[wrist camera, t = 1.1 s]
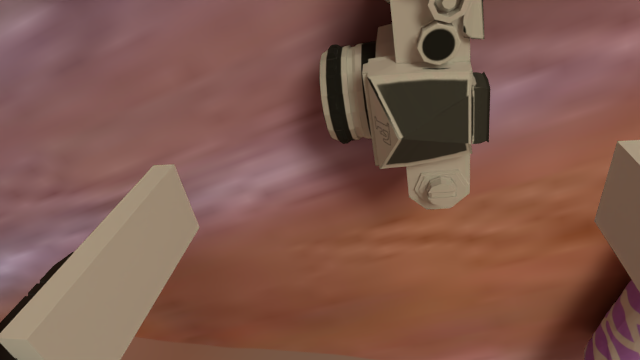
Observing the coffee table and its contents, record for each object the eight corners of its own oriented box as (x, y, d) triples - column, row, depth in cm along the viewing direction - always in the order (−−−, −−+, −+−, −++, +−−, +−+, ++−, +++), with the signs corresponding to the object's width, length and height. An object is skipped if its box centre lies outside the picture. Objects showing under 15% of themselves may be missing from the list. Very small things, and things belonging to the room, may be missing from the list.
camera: (308, -79, 23) (261, -69, 15) (465, -116, 21) (508, -128, 13) (350, 157, 32) (335, 244, 24) (466, 146, 30) (493, 238, 22)
